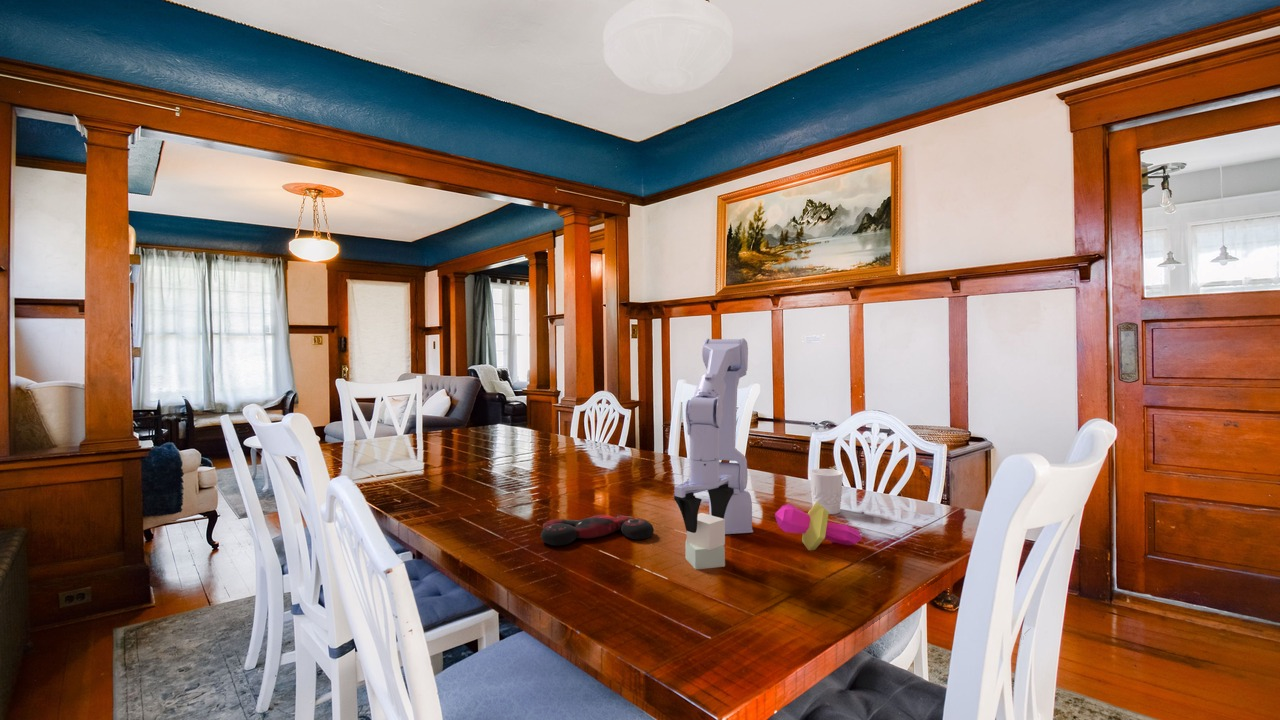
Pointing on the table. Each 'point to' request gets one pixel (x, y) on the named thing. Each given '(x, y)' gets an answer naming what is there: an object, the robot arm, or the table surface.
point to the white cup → (827, 489)
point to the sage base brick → (704, 556)
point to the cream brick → (708, 532)
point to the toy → (815, 526)
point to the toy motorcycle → (594, 528)
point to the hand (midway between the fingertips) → (704, 527)
